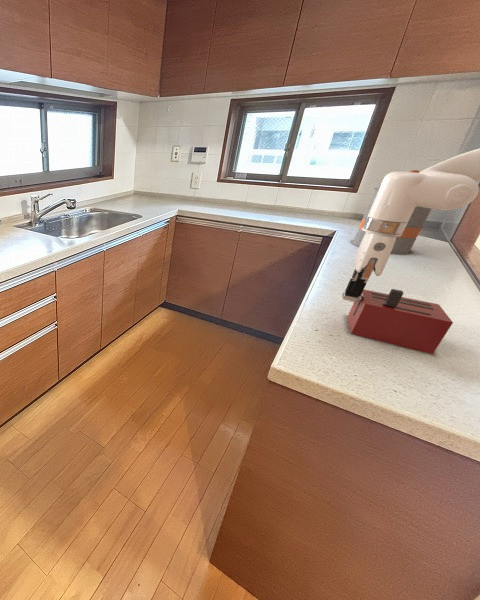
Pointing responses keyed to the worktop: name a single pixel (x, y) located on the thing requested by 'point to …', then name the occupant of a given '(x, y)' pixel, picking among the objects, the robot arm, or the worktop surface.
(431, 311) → the toaster
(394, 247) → the storage container
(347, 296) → the brushed metal plate
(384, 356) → the worktop surface
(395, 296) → the slider
